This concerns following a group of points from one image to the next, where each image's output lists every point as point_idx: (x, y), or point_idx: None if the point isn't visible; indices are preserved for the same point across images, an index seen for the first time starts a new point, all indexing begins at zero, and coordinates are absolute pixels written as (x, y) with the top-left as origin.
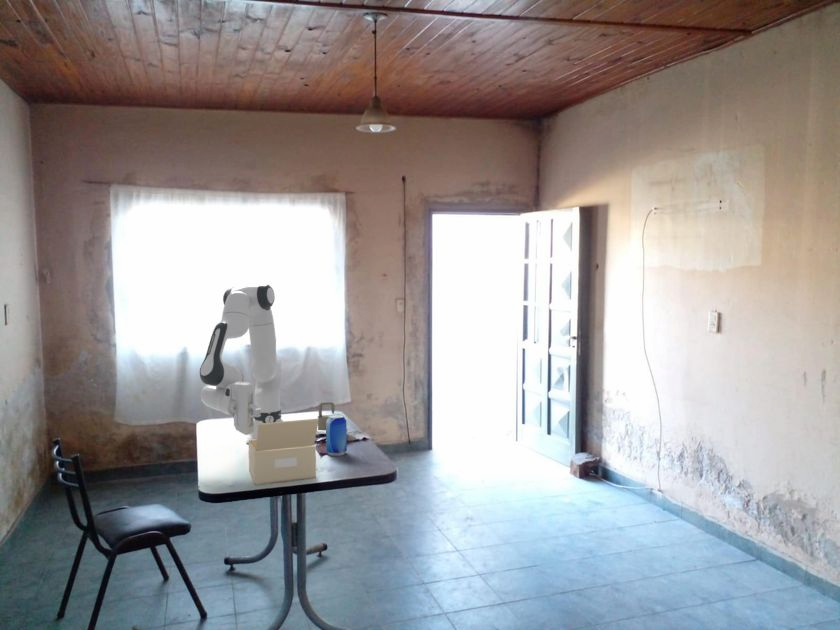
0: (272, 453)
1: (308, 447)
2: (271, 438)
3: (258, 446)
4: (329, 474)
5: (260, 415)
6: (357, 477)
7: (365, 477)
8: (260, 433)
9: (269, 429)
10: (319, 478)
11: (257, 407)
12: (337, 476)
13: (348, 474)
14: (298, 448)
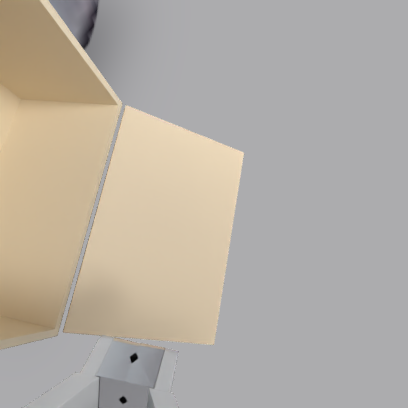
0: (67, 256)
1: (113, 126)
2: (147, 280)
3: (94, 323)
4: None
5: (109, 336)
6: (83, 27)
7: (92, 17)
8: (170, 328)
9: (192, 298)
10: None
11: (172, 393)
12: None
13: (56, 8)
14: (104, 160)
